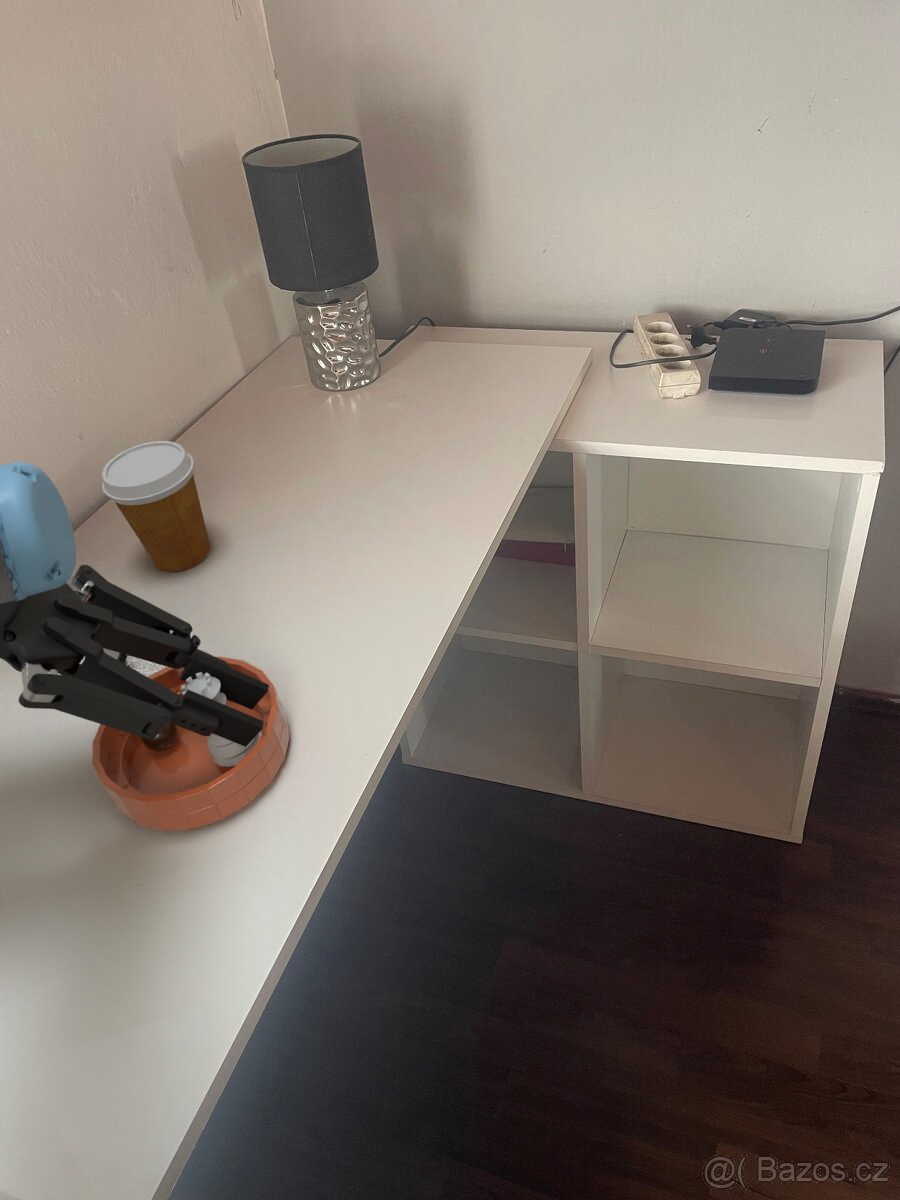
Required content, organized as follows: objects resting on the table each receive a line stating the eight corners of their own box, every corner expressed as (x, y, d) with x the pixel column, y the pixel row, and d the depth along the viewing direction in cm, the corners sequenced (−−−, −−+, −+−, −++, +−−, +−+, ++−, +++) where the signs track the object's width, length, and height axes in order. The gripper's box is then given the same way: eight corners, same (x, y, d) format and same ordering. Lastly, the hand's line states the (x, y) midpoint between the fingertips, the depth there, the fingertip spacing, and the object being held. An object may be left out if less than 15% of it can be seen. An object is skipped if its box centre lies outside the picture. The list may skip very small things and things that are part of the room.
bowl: (235, 853, 66) (217, 819, 63) (77, 813, 71) (53, 780, 68) (320, 706, 76) (307, 670, 73) (176, 680, 81) (159, 646, 78)
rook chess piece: (272, 746, 72) (230, 680, 67) (226, 779, 70) (179, 714, 65) (252, 720, 75) (210, 655, 70) (207, 751, 74) (161, 686, 69)
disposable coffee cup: (141, 541, 100) (99, 452, 92) (222, 520, 101) (188, 430, 93) (139, 591, 93) (94, 499, 85) (227, 567, 94) (190, 474, 86)
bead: (139, 734, 71) (128, 737, 73) (167, 757, 72) (155, 760, 74) (163, 706, 73) (152, 710, 75) (190, 729, 74) (178, 733, 76)
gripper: (-18, 552, 68) (247, 670, 79) (-107, 707, 56) (221, 823, 66) (16, 487, 65) (290, 620, 75) (-72, 637, 52) (270, 771, 62)
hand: (257, 715), depth 70 cm, fingers closed on rook chess piece, 3 cm apart
